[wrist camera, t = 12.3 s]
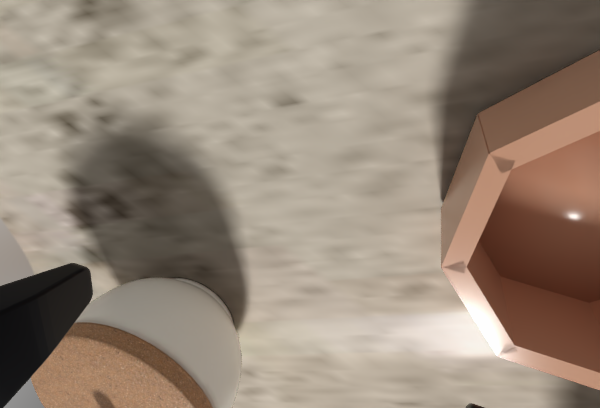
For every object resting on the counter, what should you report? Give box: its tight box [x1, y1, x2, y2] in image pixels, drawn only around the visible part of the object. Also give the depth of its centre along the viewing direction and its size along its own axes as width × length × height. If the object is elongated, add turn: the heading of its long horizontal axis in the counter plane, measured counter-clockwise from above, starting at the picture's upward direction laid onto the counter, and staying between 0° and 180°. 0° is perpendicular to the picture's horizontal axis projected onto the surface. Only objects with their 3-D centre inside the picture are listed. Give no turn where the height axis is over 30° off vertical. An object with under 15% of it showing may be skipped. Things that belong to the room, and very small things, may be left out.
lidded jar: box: [31, 278, 242, 408], centre depth 24 cm, size 11×11×9 cm
